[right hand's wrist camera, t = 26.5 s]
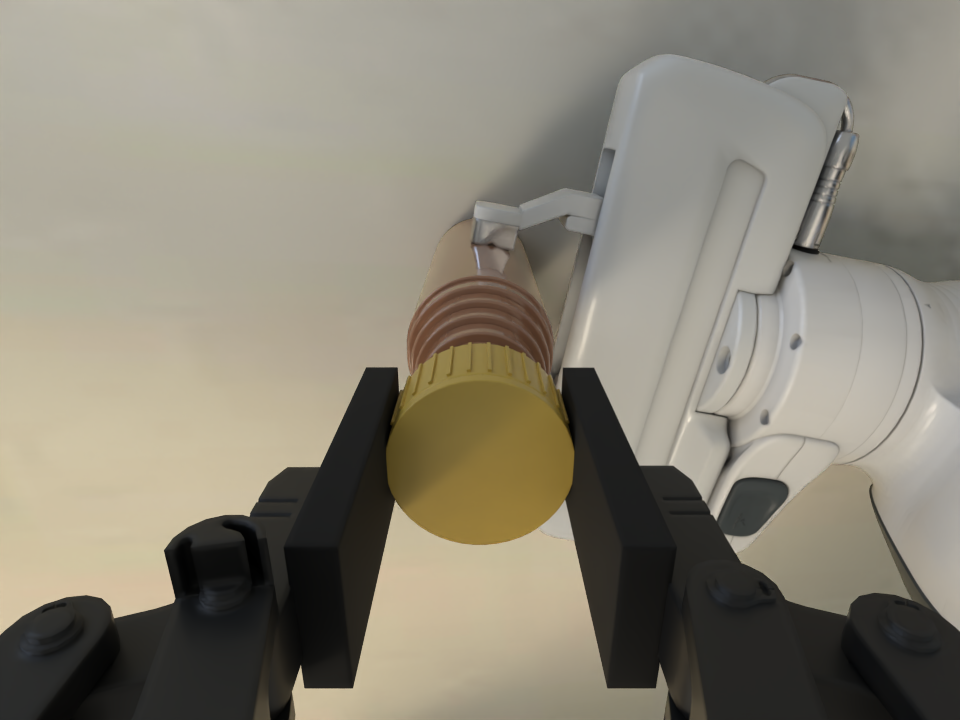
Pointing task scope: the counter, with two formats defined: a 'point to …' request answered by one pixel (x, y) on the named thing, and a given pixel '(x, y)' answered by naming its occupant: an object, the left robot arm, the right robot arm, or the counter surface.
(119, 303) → the counter surface
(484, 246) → the bottle
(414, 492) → the cap
